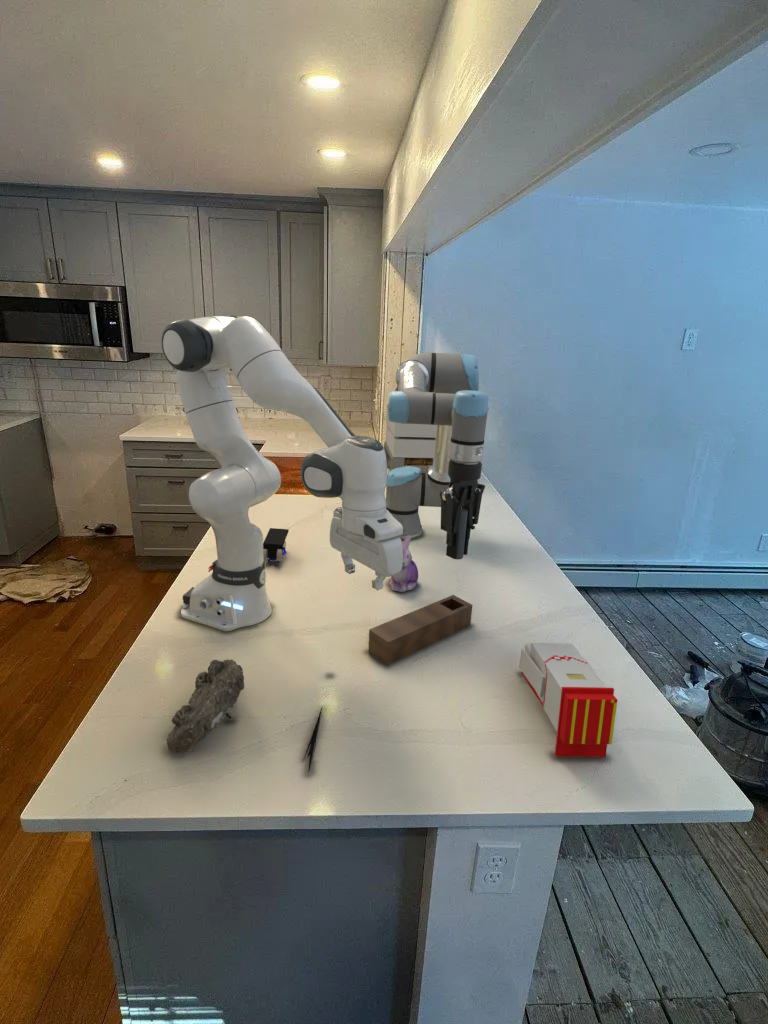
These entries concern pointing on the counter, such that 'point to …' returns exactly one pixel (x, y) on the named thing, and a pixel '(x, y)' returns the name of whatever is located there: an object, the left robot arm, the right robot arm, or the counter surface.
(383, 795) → the counter surface
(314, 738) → the feather
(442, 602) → the peg board
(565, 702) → the toy
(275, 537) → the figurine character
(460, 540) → the peg
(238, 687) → the fossil
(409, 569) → the figurine
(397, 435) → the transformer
